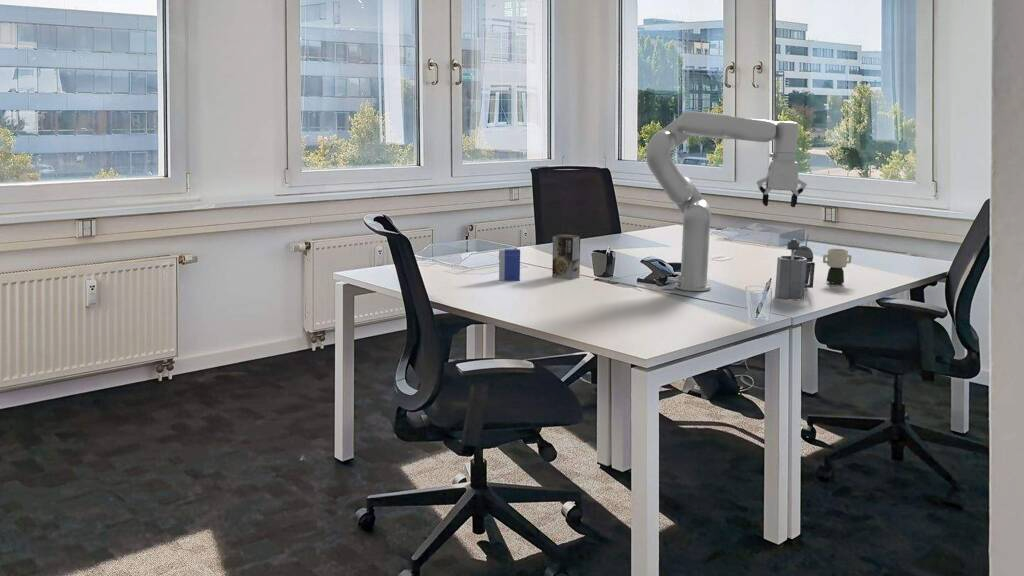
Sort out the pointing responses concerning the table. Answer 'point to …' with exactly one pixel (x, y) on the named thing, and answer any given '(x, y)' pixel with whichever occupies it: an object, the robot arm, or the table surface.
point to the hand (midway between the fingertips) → (779, 206)
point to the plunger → (793, 247)
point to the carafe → (792, 277)
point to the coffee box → (566, 256)
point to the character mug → (836, 264)
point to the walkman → (509, 264)
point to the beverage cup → (807, 254)
